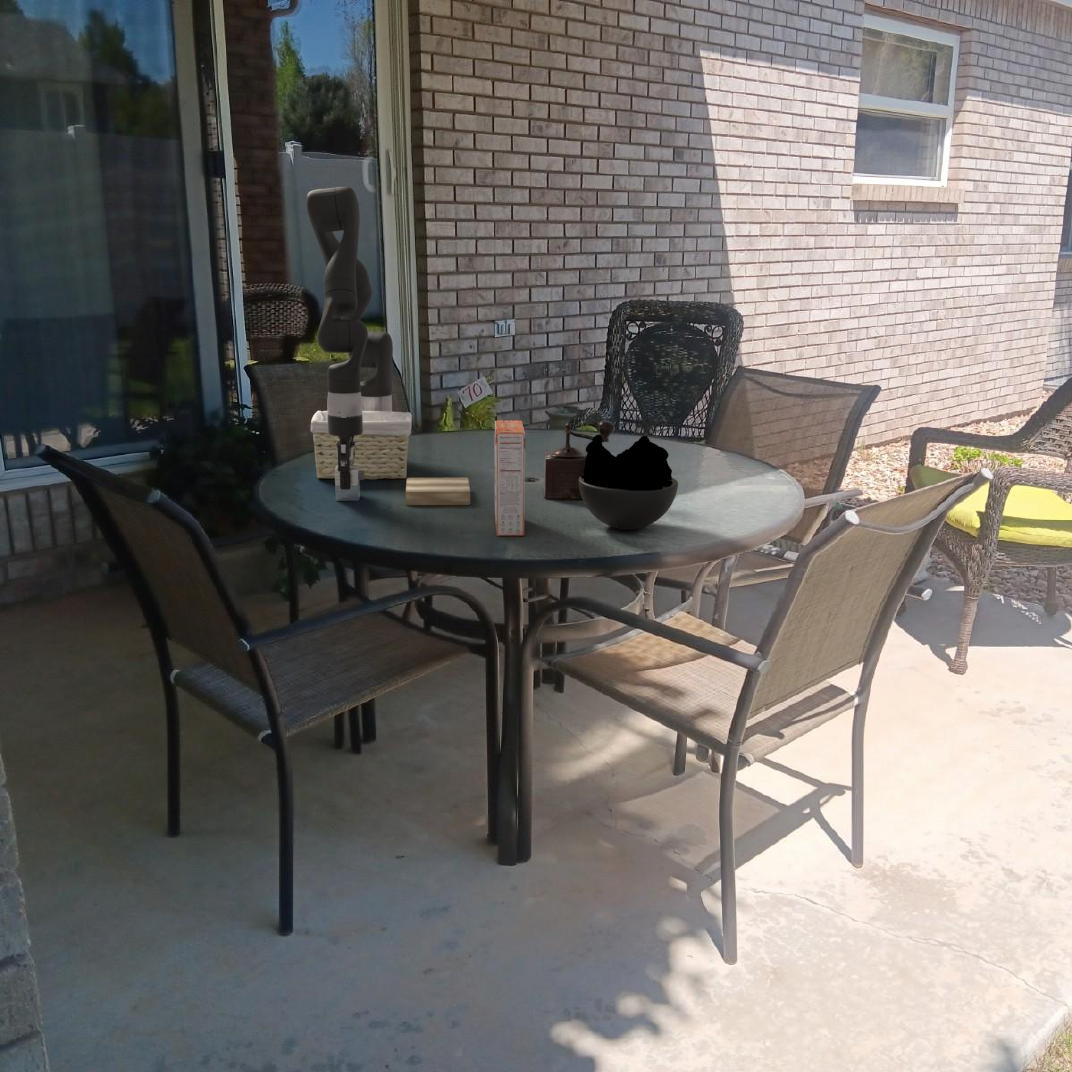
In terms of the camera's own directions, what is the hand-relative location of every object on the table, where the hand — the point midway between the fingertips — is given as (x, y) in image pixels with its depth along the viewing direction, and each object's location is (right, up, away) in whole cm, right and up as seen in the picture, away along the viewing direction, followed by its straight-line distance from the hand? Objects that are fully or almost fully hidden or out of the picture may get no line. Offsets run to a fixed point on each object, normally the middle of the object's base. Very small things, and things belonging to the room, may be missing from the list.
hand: (347, 485), depth 227 cm
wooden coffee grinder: (+52, -2, +8) cm, 52 cm away
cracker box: (+37, -10, -20) cm, 43 cm away
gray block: (0, -3, +1) cm, 3 cm away
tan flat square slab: (+20, -3, +3) cm, 20 cm away
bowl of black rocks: (+60, -10, -19) cm, 64 cm away
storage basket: (-1, +4, +25) cm, 26 cm away
